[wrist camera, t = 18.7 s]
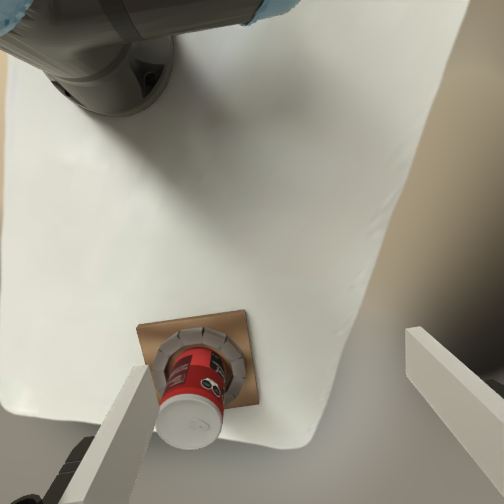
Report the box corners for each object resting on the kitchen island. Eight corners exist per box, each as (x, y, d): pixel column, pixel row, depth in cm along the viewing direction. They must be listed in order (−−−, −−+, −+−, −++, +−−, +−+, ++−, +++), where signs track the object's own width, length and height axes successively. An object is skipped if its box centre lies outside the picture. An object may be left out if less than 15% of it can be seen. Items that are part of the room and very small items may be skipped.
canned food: (226, 388, 48) (222, 451, 37) (174, 388, 48) (155, 451, 37) (227, 345, 46) (222, 397, 35) (173, 344, 46) (152, 397, 35)
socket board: (138, 324, 46) (132, 333, 43) (244, 309, 46) (244, 317, 43) (161, 412, 50) (157, 425, 48) (258, 398, 50) (259, 411, 47)
